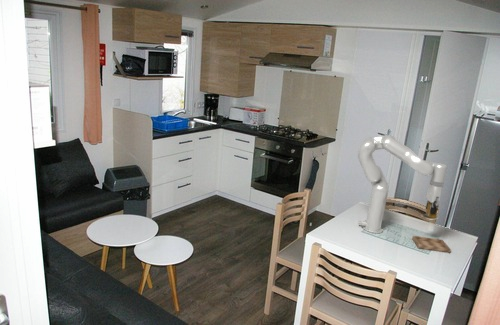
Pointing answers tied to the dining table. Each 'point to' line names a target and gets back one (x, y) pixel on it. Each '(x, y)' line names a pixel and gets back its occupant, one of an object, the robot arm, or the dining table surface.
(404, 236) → the dining table surface
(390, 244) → the dining table surface
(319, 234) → the dining table surface
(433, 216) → the condiment
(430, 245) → the serving tray
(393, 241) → the dining table surface
